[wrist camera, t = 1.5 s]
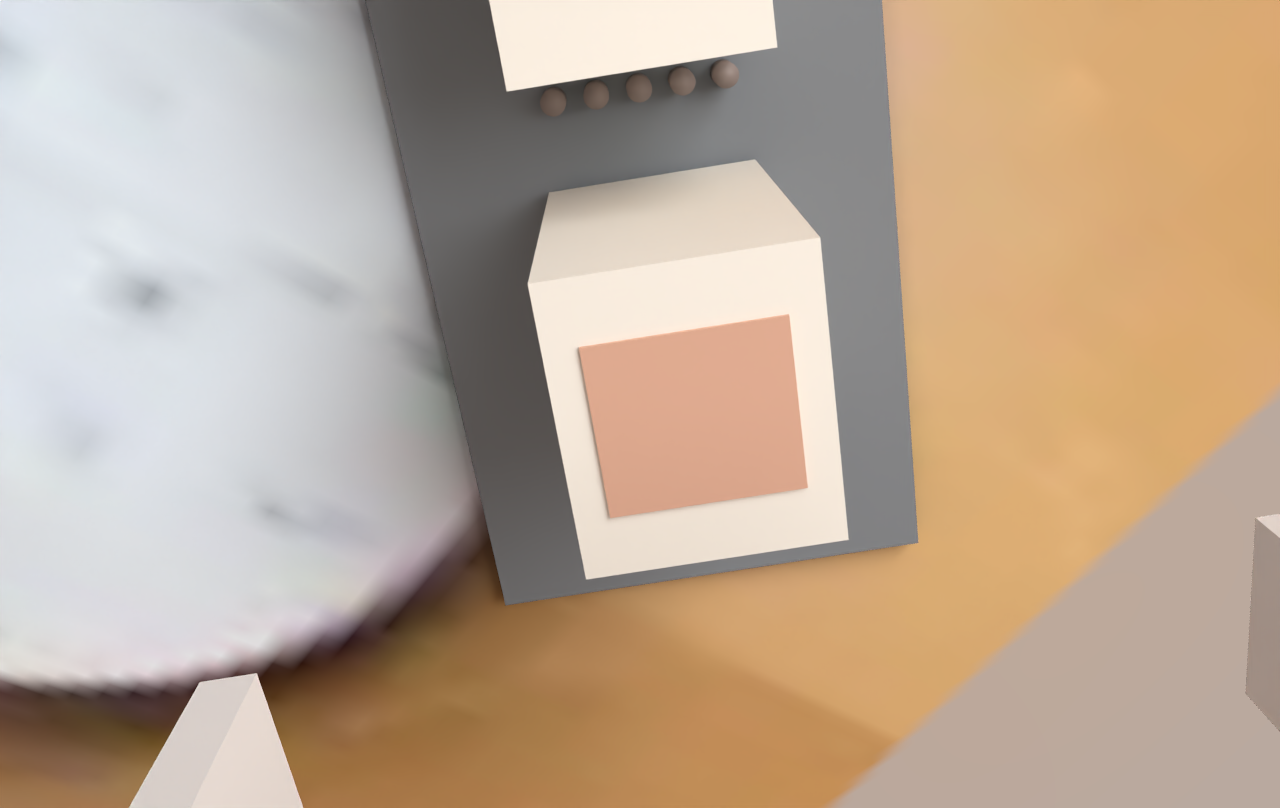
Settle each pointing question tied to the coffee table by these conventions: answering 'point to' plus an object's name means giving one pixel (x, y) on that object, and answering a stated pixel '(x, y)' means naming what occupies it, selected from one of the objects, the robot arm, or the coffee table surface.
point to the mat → (628, 149)
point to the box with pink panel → (688, 368)
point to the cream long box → (624, 42)
